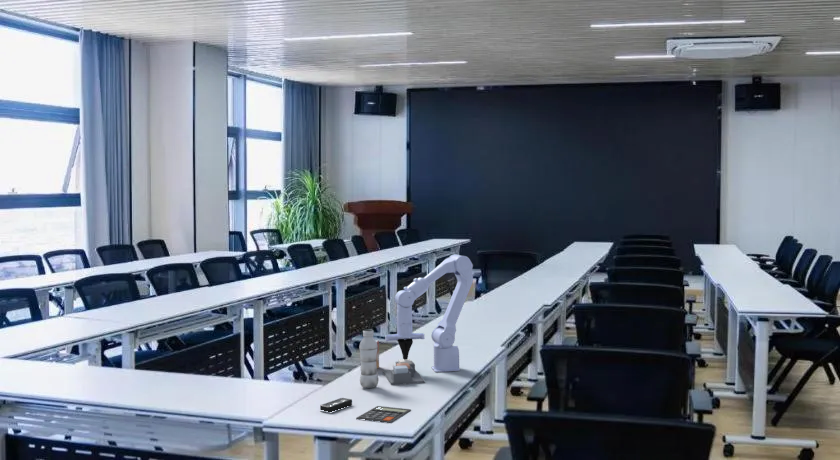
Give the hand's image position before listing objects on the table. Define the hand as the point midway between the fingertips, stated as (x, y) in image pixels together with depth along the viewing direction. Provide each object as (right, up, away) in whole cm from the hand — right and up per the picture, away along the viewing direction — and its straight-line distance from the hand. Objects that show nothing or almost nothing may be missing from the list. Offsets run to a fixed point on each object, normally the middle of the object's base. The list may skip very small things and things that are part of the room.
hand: (405, 359), depth 312 cm
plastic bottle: (-12, -7, -21) cm, 25 cm away
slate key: (-1, -3, -14) cm, 15 cm away
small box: (-14, -5, +8) cm, 17 cm away
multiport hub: (-21, -9, -47) cm, 53 cm away
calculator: (-6, -9, -56) cm, 57 cm away
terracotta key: (-1, -3, -7) cm, 8 cm away
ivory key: (0, -3, 0) cm, 3 cm away
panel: (-1, -6, -7) cm, 9 cm away
